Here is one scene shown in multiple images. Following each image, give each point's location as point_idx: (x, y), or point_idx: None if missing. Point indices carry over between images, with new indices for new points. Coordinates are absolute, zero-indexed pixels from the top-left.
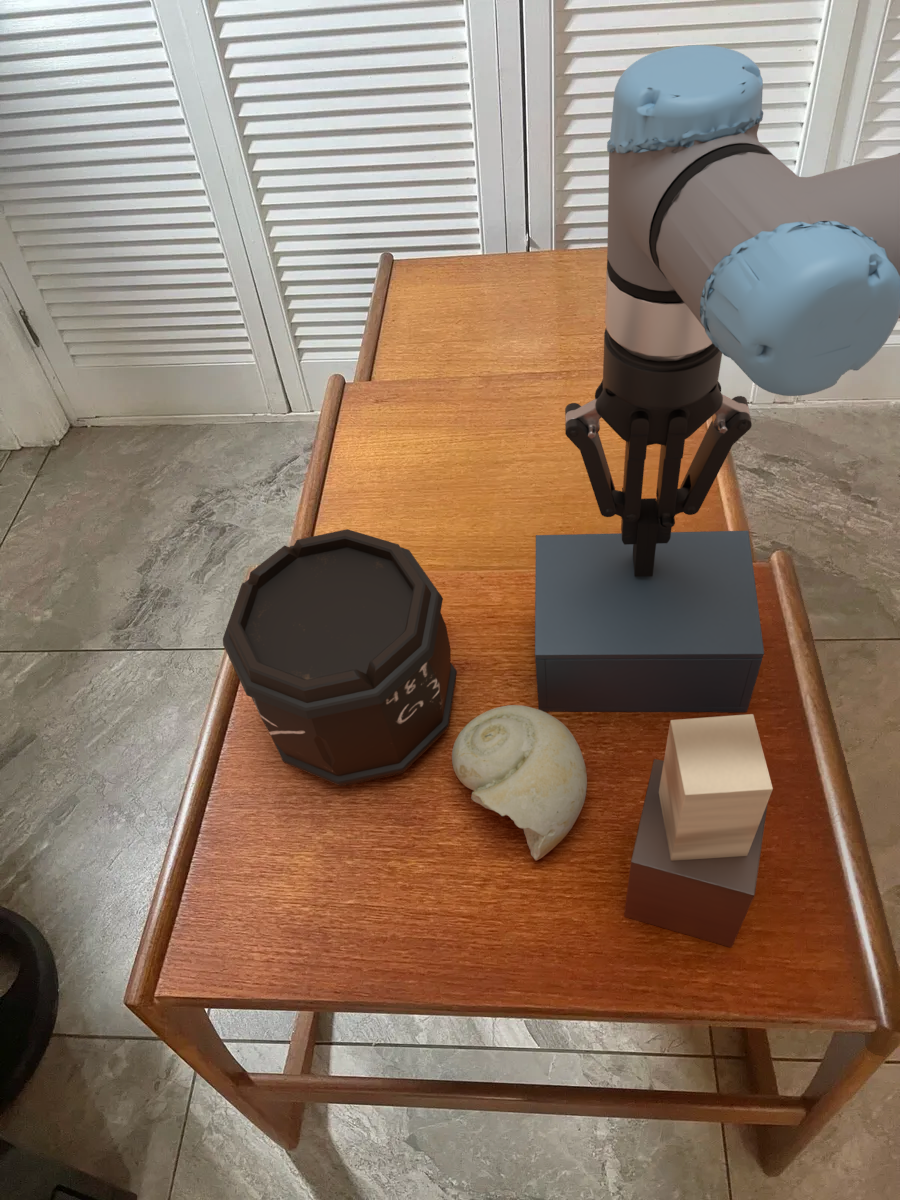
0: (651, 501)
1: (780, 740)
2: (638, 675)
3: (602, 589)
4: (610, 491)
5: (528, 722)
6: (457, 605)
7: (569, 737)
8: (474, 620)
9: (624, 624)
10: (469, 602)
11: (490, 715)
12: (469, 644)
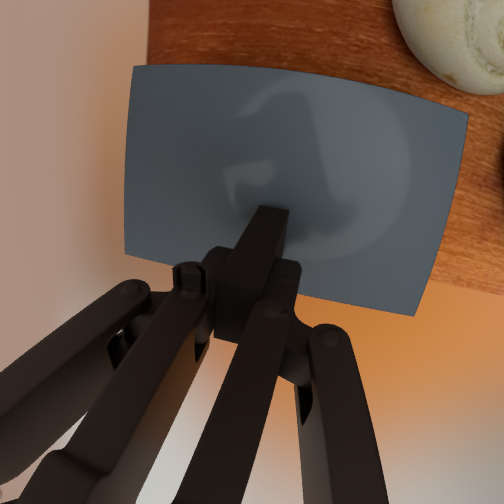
0: (223, 333)
1: (172, 37)
2: None
3: (345, 202)
4: (319, 402)
5: (469, 40)
6: (466, 257)
7: (416, 11)
8: (458, 235)
9: (323, 129)
10: (455, 258)
11: (501, 79)
12: (471, 208)
